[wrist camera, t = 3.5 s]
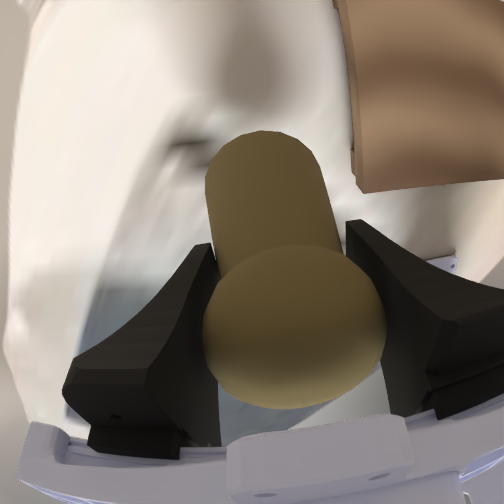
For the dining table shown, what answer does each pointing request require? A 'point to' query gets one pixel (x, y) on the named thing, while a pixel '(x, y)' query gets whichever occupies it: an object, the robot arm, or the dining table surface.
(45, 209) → the dining table surface
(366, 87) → the tan square board
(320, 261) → the olive bulb-shaped piece
